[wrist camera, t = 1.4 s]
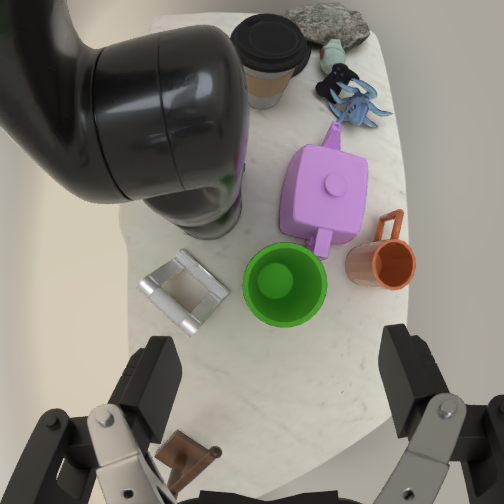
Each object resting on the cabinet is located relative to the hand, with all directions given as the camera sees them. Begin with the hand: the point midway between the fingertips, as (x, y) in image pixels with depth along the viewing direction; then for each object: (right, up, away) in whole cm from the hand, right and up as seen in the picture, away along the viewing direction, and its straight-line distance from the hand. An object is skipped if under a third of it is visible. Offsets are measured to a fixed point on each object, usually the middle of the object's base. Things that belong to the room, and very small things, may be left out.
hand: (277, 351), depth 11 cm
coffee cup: (+1, +28, +34) cm, 44 cm away
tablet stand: (-10, -2, +32) cm, 34 cm away
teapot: (+8, +11, +34) cm, 37 cm away
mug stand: (-9, -25, +31) cm, 41 cm away
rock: (+10, +45, +36) cm, 58 cm away
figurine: (+16, +28, +31) cm, 45 cm away
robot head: (+11, +34, +35) cm, 50 cm away
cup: (+2, 0, +33) cm, 33 cm away
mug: (+16, +4, +34) cm, 37 cm away
